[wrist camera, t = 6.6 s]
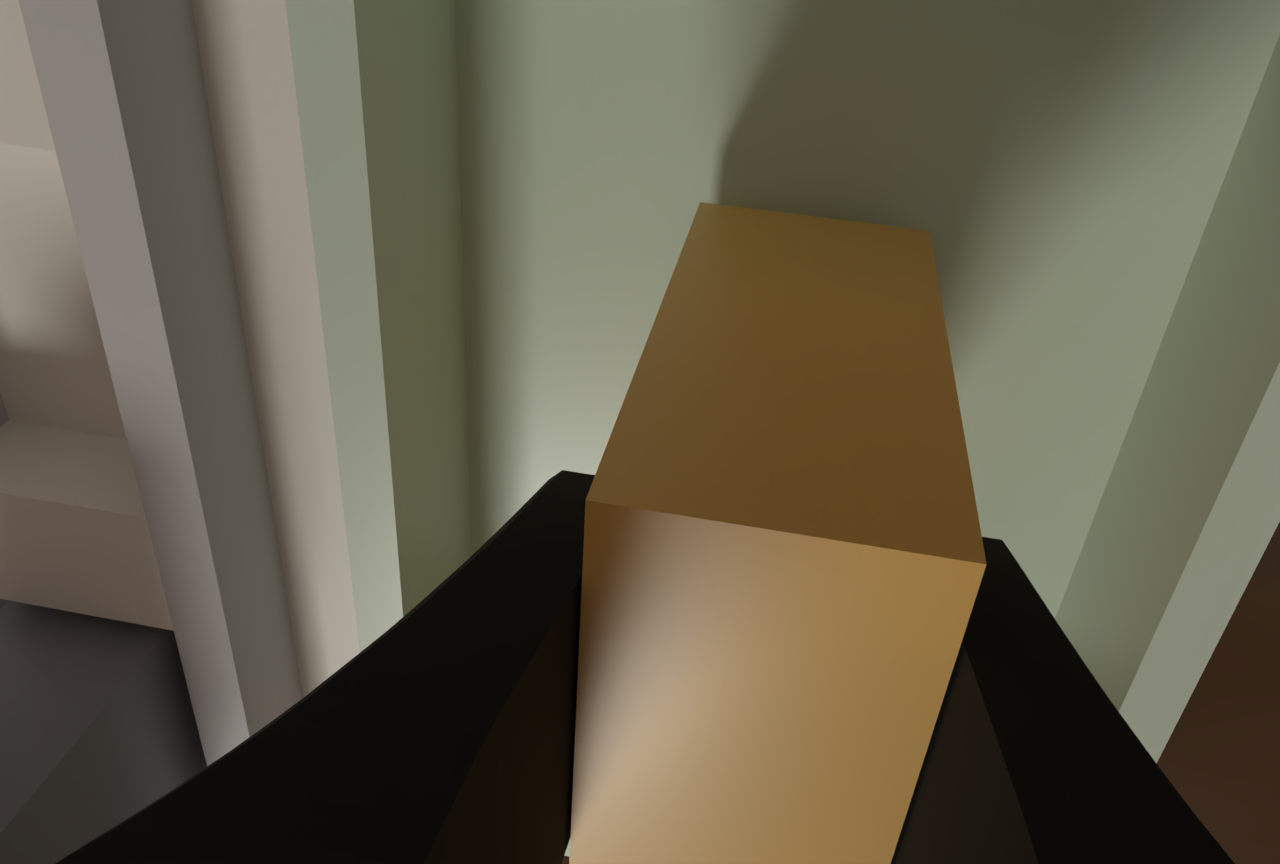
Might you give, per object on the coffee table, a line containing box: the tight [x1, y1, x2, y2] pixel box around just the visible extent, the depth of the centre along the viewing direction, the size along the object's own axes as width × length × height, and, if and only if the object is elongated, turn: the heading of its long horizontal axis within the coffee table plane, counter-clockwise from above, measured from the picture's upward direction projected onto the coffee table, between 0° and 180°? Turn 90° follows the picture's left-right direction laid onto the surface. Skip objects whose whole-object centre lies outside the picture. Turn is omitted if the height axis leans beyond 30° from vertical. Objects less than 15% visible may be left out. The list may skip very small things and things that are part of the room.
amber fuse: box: [569, 202, 987, 864], centre depth 9 cm, size 2×4×6 cm, turn 176°
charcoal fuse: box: [0, 601, 207, 864], centre depth 14 cm, size 2×4×6 cm, turn 176°
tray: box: [286, 0, 1280, 856], centre depth 11 cm, size 9×13×3 cm
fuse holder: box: [0, 0, 360, 766], centre depth 13 cm, size 7×20×2 cm, turn 176°
